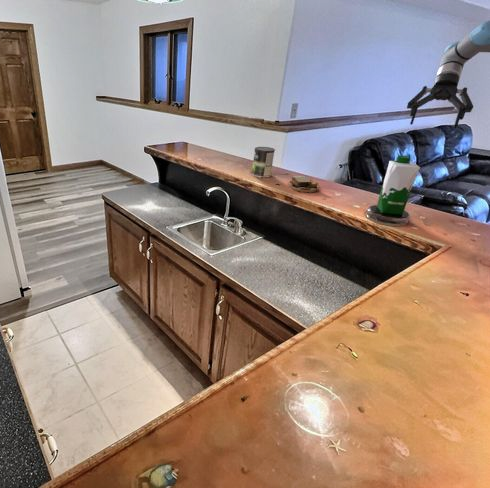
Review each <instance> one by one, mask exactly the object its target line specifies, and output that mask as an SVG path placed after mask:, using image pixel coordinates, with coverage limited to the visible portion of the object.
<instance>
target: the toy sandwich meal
mask: <svg viewBox="0 0 490 488" xmlns="http://www.w3.org/2000/svg"><path fill="white" fill-rule="evenodd" d="M289 183H290V187H291V189H292V190H293V191H296V192H299V191H300V192H301V193H307V192H309V193H315V192H316V191H319V187H318V186H319V182H316V183H315V182H314V181H313V180H312V179H311V178H308V177H307V176H305V175H293V176H292V177H291V180H290V181H289Z"/></svg>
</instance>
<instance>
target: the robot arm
mask: <svg viewBox="0 0 490 488" xmlns="http://www.w3.org/2000/svg"><path fill="white" fill-rule="evenodd" d="M479 53H490V20H486V21H484V22H482V23H481V24H479V25H478V26H477V27H475V28H474V29H473V30H472V31H471V32H470V33H468V35H466V36H465V37H464V38H462V40H460V41H454V42H452V43H450V44H449V45H447V47H446V48H445V50H444V52H443V54H442V56H441V60H440V64H439V67H438V70H437V74H436V75H435V80H434V82H433V86H432V87H428V86H427V85H424V86H423V87H422V89H421V90H420V91H419V92H418V93H417V94H416V95H415V96H414V97H413V98H412V99H410V100H409V101H408V102H407V105H406V109H408V110H409V109H410V112H409V116H410V117H411V120H410V124H409V125H413V124H414V121H415V119H416V115H417V112H418V109H419V108H421V107H422V106H424V105H425V104H427V103H429V102H432V101H434V100H435V101H448V103H451V104H452V105H453V106H454V107H455V108H456V110H457V111H458V112H457V115H456V118H455V121H454V124H453V129H457V127H458V125H459V123H460V121H462V120H463V119H464V118H465V115H466V113H472V111H473V109H474V104H473V102H472V100H471V98H470V96H469V94H468V87H467V86H466V87H462V88H461V89H459V88H458V87H459V86H458V85H459V83H460V79H461V76H462V72H463V69H464V65H465V64H466V63H467V62H468V61H470V60H471V59H472V58H474V57H475V56H476V55H478V54H479ZM427 94H428V95H427ZM457 94H458V96H459V97H460V98H459V97H458V96H457Z"/></svg>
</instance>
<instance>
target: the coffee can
mask: <svg viewBox="0 0 490 488" xmlns="http://www.w3.org/2000/svg"><path fill="white" fill-rule="evenodd" d="M275 151H276V149H275V148H273V147H269V146H257V147H254V153H253V162H252V169H251V176H252V177H254V178H255V177H256V178H261V177H263V178H265V177H267V178H270V177H271V176H272V170H273V162H274V157H275ZM263 178H262V179H263ZM265 179H266V178H265Z"/></svg>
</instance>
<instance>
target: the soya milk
mask: <svg viewBox="0 0 490 488" xmlns="http://www.w3.org/2000/svg"><path fill="white" fill-rule="evenodd" d="M411 158H412V157H411V156H408V155H397V157H396V160H389V161H388V166H387V168H386V169H387V170H386V172H385V176H384V179H383V183H382V186H381V190H380V192H379V196H378V199H377V203H376V205H377V207H378V208H379V210H380V211H381V212H382V213H390V214H401V215H403V212H404V210H405V209H406V206H407V204H408V200H409V198H410V195H411V192H412V189H413V186H414V183H415V181H416V178H417V175H418V173H419V171H420V170H421V166H419V165H418V164H417V163H414V162H412V161H411Z"/></svg>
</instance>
